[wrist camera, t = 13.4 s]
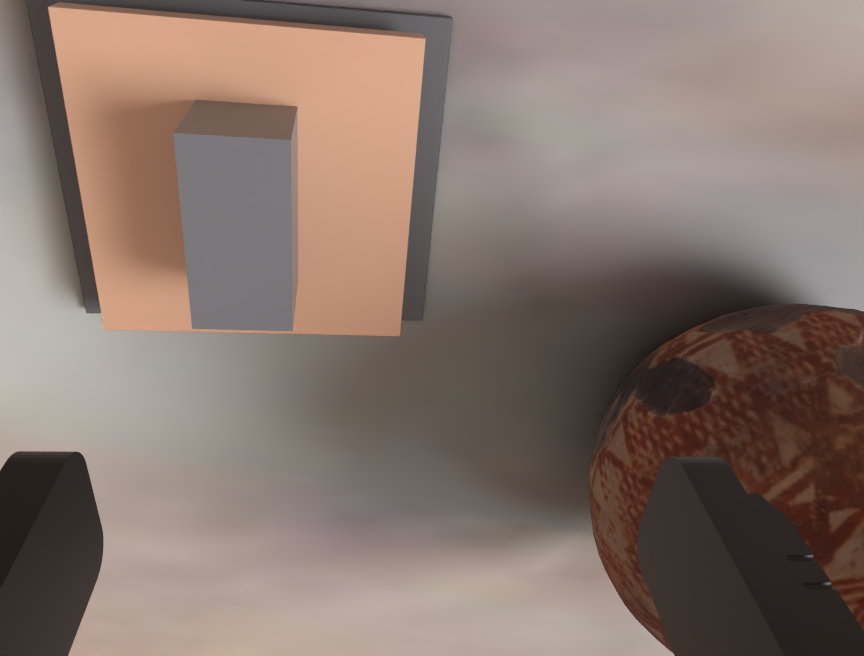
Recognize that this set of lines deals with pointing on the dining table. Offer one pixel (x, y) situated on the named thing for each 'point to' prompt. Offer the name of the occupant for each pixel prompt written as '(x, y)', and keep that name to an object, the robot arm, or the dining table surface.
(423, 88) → the mat
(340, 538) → the dining table surface
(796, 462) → the jug
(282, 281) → the lid
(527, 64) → the dining table surface
